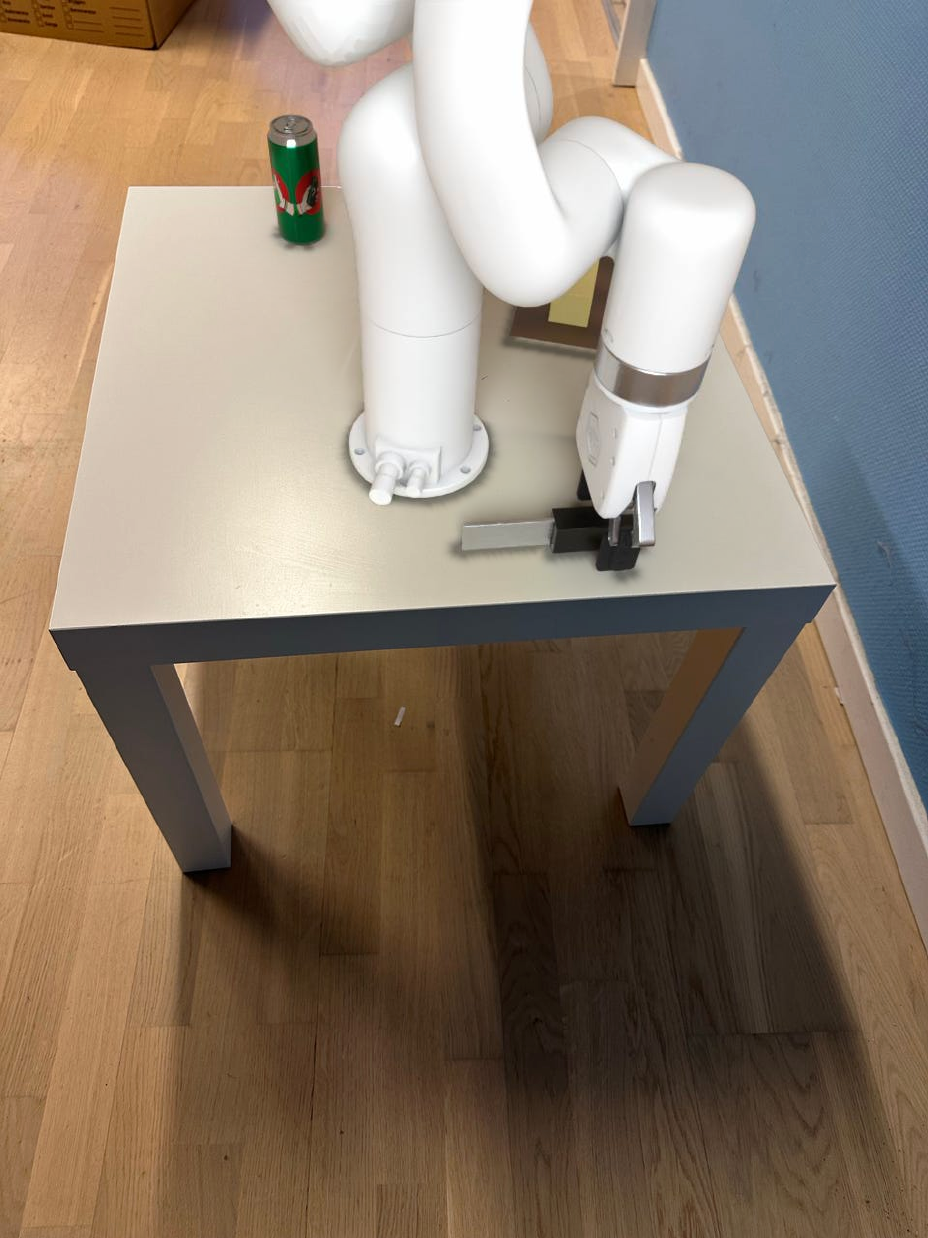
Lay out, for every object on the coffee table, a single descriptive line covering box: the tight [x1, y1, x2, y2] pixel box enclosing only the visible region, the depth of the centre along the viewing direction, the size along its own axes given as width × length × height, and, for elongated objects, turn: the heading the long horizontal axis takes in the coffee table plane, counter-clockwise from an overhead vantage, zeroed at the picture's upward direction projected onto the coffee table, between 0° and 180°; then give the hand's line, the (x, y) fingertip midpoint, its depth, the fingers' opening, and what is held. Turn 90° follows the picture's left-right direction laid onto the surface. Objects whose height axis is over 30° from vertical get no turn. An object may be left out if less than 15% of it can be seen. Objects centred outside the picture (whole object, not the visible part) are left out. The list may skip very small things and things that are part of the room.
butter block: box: [548, 259, 600, 327], centre depth 92 cm, size 8×4×4 cm, turn 169°
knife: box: [461, 505, 634, 555], centre depth 74 cm, size 15×2×3 cm, turn 97°
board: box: [509, 256, 614, 351], centre depth 95 cm, size 18×11×1 cm, turn 169°
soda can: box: [266, 114, 326, 246], centre depth 95 cm, size 5×5×12 cm
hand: (604, 530), depth 75 cm, fingers open, 7 cm apart
